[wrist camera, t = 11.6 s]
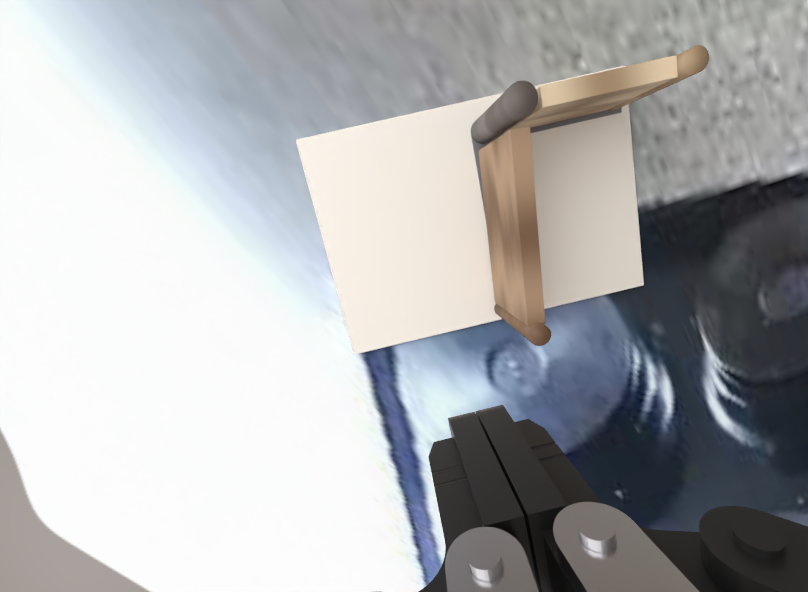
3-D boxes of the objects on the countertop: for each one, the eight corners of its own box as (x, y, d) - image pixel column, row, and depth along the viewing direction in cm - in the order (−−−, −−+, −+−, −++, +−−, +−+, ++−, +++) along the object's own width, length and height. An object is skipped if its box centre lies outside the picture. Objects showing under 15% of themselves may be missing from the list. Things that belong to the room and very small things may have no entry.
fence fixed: (618, 87, 24) (708, 38, 18) (620, 112, 25) (709, 74, 18) (468, 121, 24) (502, 84, 18) (473, 146, 25) (508, 120, 18)
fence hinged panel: (476, 150, 24) (511, 127, 18) (494, 148, 24) (534, 124, 18) (495, 317, 27) (530, 347, 21) (511, 314, 27) (551, 343, 21)
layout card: (621, 67, 25) (626, 64, 24) (640, 284, 28) (644, 285, 27) (297, 141, 24) (295, 139, 24) (354, 352, 27) (354, 354, 27)
